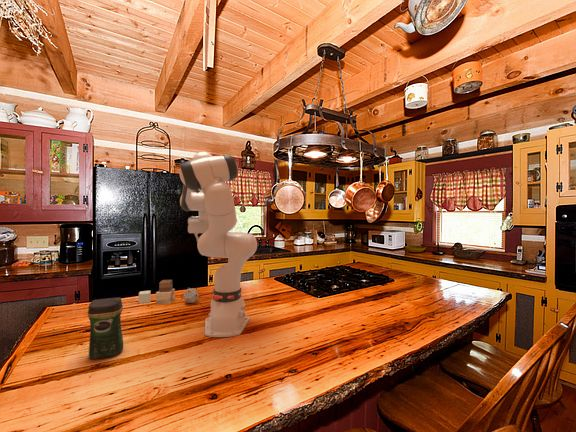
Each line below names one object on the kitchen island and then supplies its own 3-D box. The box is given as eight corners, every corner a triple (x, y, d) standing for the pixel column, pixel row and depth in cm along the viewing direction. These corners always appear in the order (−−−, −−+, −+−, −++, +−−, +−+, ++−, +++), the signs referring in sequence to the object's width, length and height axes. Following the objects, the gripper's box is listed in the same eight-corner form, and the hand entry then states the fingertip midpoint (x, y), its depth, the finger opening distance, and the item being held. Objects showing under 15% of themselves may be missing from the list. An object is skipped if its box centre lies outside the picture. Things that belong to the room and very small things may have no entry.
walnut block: (169, 291, 140) (169, 282, 140) (159, 292, 139) (159, 282, 139) (172, 289, 145) (172, 279, 145) (162, 289, 144) (162, 280, 144)
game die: (194, 309, 142) (206, 292, 144) (187, 309, 134) (200, 291, 136) (182, 299, 144) (194, 283, 146) (174, 298, 136) (187, 281, 138)
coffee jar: (125, 345, 96) (125, 294, 96) (120, 356, 89) (119, 301, 88) (93, 350, 93) (92, 296, 93) (84, 362, 86) (84, 304, 85)
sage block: (149, 302, 140) (149, 293, 140) (138, 303, 139) (138, 294, 139) (150, 299, 145) (150, 290, 145) (140, 300, 143) (140, 291, 143)
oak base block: (169, 304, 139) (169, 292, 138) (155, 304, 138) (155, 292, 138) (174, 299, 146) (174, 288, 145) (161, 299, 145) (161, 288, 145)
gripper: (186, 216, 145) (186, 242, 146) (224, 216, 147) (224, 241, 147) (189, 216, 152) (189, 240, 152) (226, 216, 153) (226, 240, 154)
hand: (207, 241), depth 150 cm, fingers open, 8 cm apart
